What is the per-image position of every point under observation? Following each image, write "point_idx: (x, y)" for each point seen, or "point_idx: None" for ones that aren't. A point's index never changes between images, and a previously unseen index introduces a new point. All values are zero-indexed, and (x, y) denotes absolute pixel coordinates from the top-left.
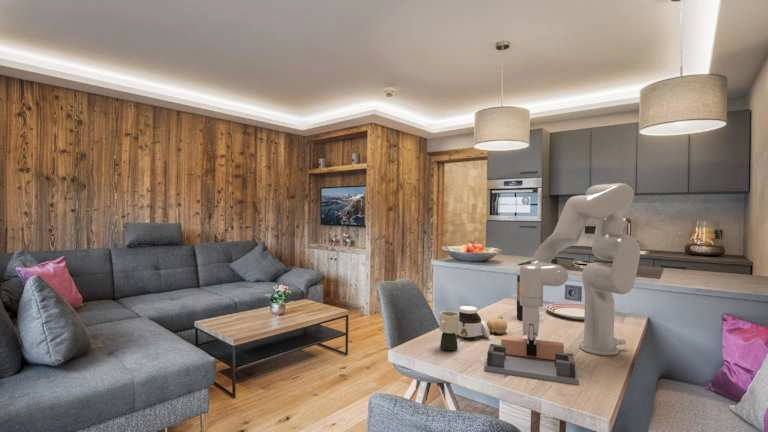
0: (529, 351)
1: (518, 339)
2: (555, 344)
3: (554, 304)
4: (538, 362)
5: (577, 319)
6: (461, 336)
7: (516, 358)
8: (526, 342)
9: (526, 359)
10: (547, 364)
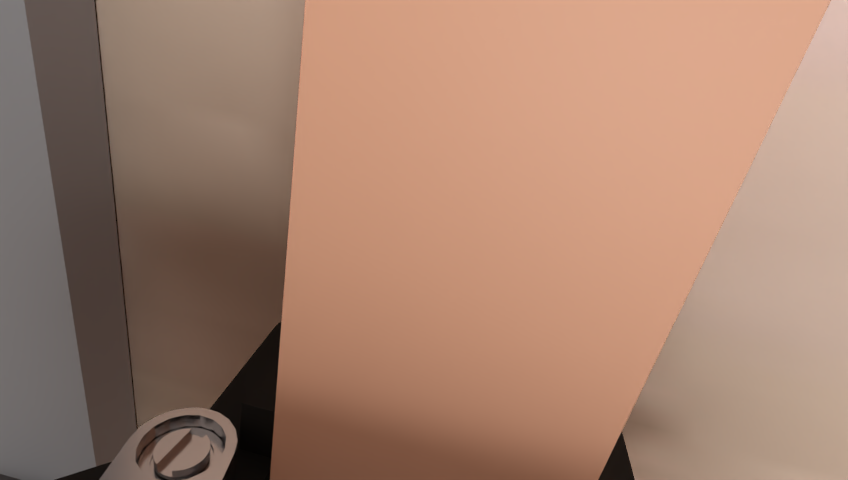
0: (263, 344)
1: (482, 283)
2: None
3: None
4: (22, 345)
5: None
6: None
7: (8, 38)
8: (282, 432)
9: (52, 212)
10: (19, 423)
